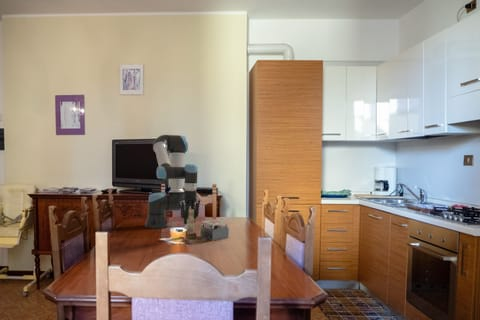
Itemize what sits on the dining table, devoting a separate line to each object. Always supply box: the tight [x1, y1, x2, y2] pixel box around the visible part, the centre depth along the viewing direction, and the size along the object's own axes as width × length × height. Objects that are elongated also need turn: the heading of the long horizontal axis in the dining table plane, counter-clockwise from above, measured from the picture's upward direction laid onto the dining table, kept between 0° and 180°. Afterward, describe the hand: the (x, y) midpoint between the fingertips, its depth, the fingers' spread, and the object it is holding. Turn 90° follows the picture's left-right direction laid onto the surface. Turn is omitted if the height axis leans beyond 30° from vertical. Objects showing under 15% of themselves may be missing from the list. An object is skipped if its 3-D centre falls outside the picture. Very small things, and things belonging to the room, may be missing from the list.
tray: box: [182, 235, 207, 245], centre depth 177 cm, size 10×10×2 cm
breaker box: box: [199, 218, 230, 242], centre depth 188 cm, size 12×12×10 cm
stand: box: [186, 231, 197, 237], centre depth 187 cm, size 8×8×3 cm
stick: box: [186, 208, 195, 234], centre depth 187 cm, size 3×3×16 cm
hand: (189, 229), depth 187 cm, fingers closed on stick, 3 cm apart
